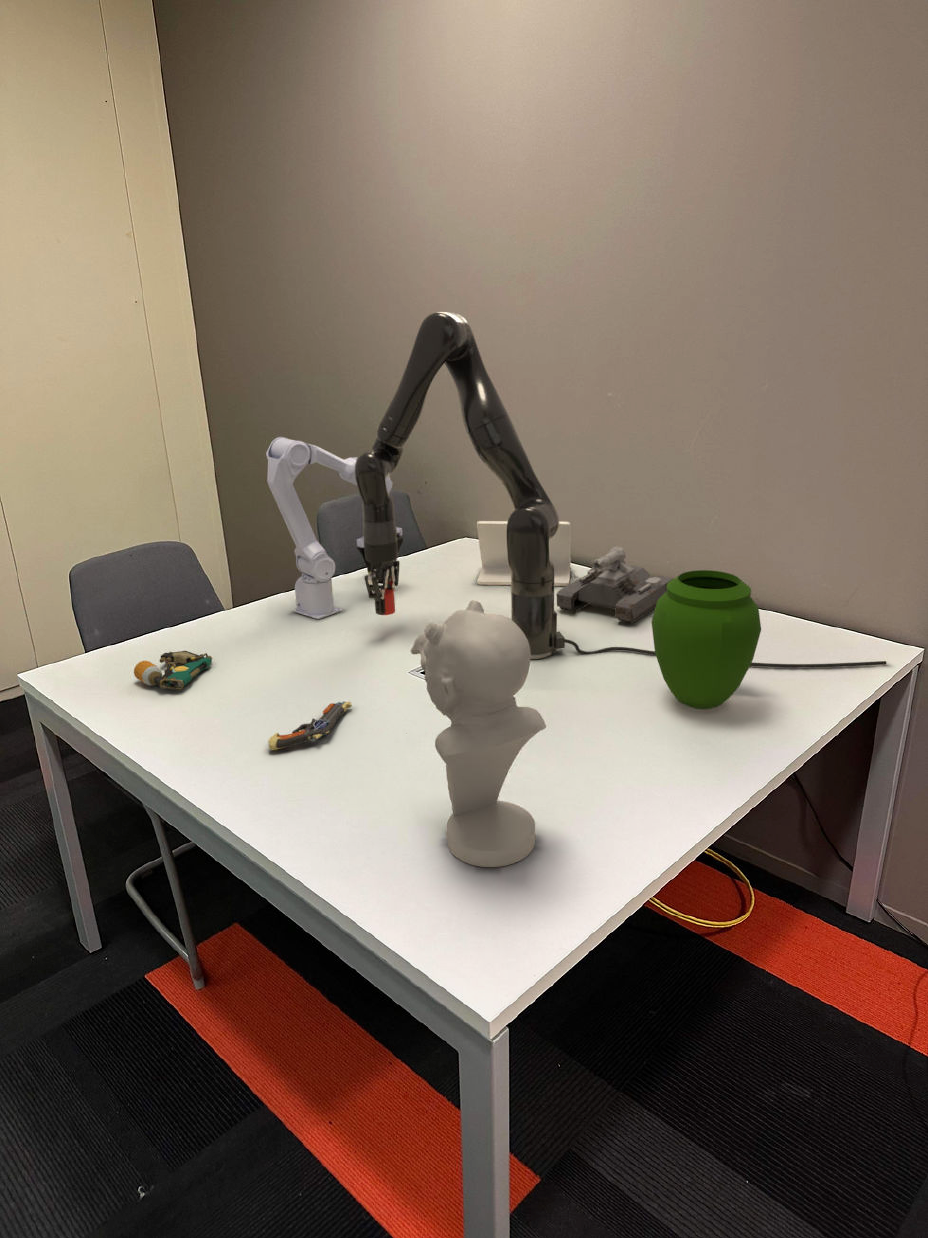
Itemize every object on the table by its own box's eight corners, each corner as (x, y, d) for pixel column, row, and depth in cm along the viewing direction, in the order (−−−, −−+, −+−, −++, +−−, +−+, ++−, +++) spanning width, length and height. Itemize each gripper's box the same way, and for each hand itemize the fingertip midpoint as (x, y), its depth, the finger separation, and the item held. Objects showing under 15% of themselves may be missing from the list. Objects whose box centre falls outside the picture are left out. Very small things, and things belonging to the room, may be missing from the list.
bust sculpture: (481, 772, 140) (476, 569, 128) (565, 848, 120) (569, 617, 108) (392, 800, 134) (378, 588, 121) (465, 886, 114) (457, 642, 101)
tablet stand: (569, 585, 229) (570, 524, 223) (476, 584, 232) (475, 523, 226) (570, 566, 246) (571, 508, 240) (484, 564, 249) (483, 507, 243)
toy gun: (263, 740, 148) (317, 738, 146) (303, 699, 166) (351, 696, 163) (266, 754, 148) (320, 752, 146) (305, 712, 166) (354, 709, 164)
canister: (373, 610, 199) (372, 590, 197) (391, 607, 200) (390, 587, 199) (379, 616, 195) (378, 596, 193) (397, 613, 197) (396, 593, 195)
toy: (603, 584, 229) (605, 530, 224) (673, 597, 218) (677, 540, 213) (555, 612, 210) (556, 553, 205) (630, 627, 199) (633, 566, 194)
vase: (765, 692, 165) (778, 572, 157) (736, 734, 150) (748, 603, 142) (668, 672, 175) (675, 558, 167) (631, 709, 160) (637, 586, 151)
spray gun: (177, 659, 191) (231, 671, 185) (120, 684, 176) (176, 698, 171) (176, 641, 190) (230, 653, 184) (118, 665, 175) (174, 678, 169)
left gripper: (368, 525, 211) (372, 577, 216) (409, 513, 221) (412, 563, 226) (349, 521, 215) (353, 572, 220) (390, 509, 226) (393, 559, 230)
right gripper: (379, 529, 199) (383, 599, 205) (350, 546, 187) (356, 619, 193) (408, 531, 197) (412, 601, 203) (381, 548, 184) (387, 622, 190)
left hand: (381, 567), depth 223 cm, fingers open, 7 cm apart
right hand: (385, 609), depth 198 cm, fingers closed on canister, 4 cm apart
